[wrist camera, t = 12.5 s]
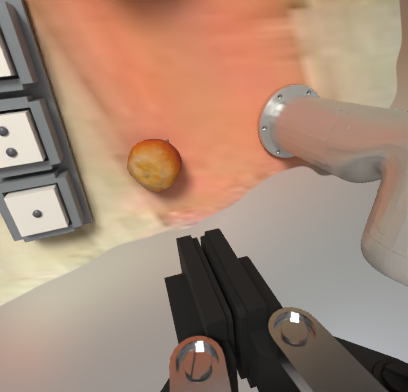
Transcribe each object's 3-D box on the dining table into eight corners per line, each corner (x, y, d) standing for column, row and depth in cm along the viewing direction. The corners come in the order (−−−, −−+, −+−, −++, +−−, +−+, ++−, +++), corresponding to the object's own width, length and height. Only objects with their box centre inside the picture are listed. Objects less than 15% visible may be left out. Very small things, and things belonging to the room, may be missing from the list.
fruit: (195, 167, 47) (182, 194, 40) (154, 175, 49) (136, 201, 43) (178, 122, 43) (160, 143, 36) (135, 133, 45) (111, 155, 39)
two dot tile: (33, 107, 36) (24, 112, 32) (49, 152, 39) (42, 161, 35) (-19, 114, 35) (-34, 120, 31) (1, 160, 38) (-11, 170, 34)
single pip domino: (58, 178, 41) (53, 189, 37) (71, 213, 43) (67, 227, 40) (13, 186, 39) (3, 199, 36) (29, 222, 42) (21, 237, 38)
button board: (20, -8, 32) (8, -18, 29) (92, 218, 46) (91, 232, 43) (-92, -3, 30) (-122, -13, 26) (20, 234, 44) (11, 251, 40)
